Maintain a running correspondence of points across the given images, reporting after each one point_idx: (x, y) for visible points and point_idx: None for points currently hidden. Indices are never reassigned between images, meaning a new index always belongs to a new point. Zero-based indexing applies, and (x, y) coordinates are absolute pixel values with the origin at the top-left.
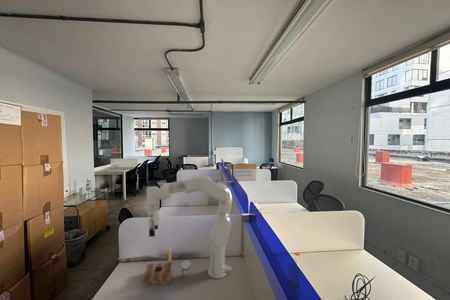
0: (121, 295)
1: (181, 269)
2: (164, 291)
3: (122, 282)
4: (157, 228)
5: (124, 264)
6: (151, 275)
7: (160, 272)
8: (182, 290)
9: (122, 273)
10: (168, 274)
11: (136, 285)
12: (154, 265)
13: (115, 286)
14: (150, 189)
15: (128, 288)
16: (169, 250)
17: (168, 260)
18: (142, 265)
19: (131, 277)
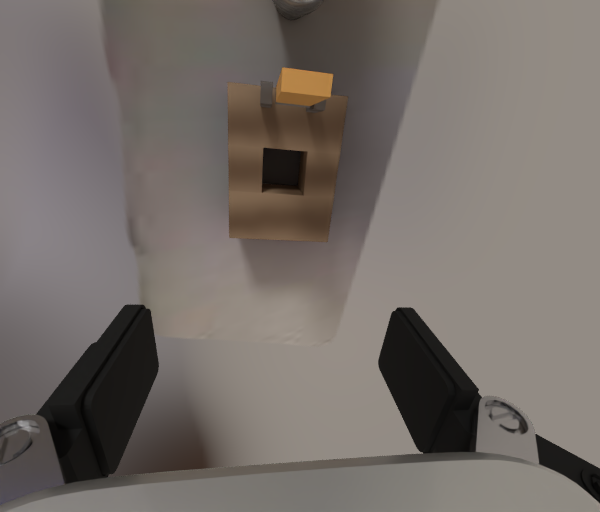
0: (350, 287)
1: (314, 9)
2: (376, 128)
3: (282, 303)
4: (143, 315)
5: (163, 329)
6: (331, 203)
7: (318, 157)
8: (397, 28)
9: (226, 318)
10: (346, 107)
11: (309, 251)
12: (247, 200)
13: (299, 318)
14: None
15: (320, 275)
16: (331, 84)
17: (312, 104)
18: (171, 257)
19: (256, 281)
